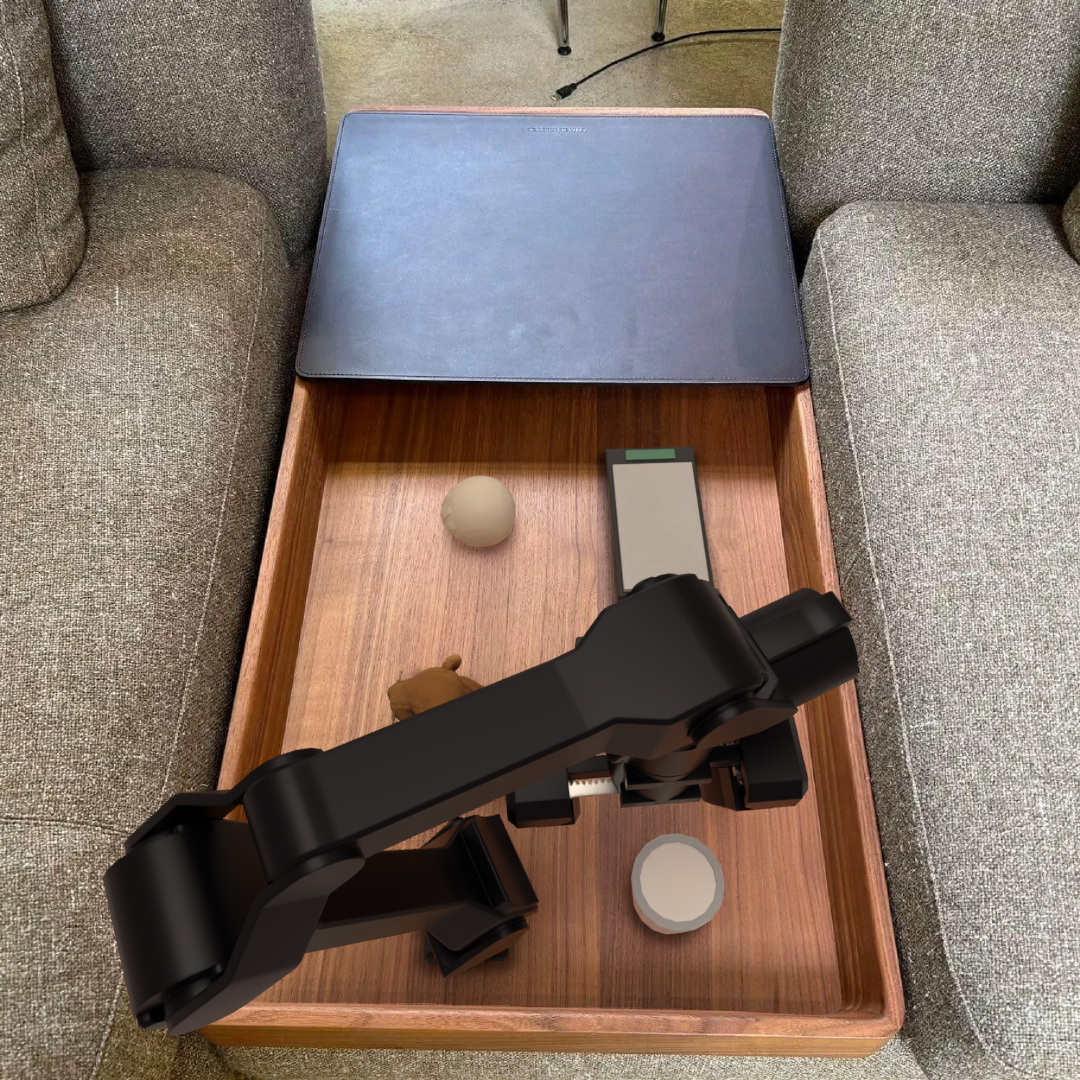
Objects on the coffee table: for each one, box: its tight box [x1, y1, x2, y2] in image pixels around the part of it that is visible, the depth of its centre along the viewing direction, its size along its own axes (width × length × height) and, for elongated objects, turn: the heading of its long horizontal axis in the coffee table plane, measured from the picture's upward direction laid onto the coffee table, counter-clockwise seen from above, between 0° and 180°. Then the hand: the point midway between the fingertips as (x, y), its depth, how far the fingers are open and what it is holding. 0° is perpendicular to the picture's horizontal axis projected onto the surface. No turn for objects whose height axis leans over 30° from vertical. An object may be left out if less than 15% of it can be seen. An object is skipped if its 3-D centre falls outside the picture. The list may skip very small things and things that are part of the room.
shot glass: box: [630, 832, 726, 935], centre depth 68 cm, size 7×7×7 cm
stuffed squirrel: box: [386, 653, 485, 724], centre depth 72 cm, size 10×14×13 cm
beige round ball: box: [439, 475, 517, 548], centre depth 86 cm, size 7×7×7 cm
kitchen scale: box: [604, 445, 715, 602], centre depth 88 cm, size 17×9×3 cm, turn 2°
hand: (639, 798), depth 64 cm, fingers open, 9 cm apart
